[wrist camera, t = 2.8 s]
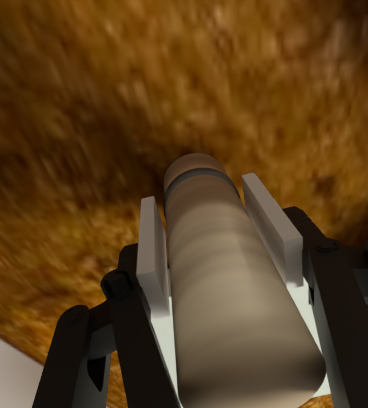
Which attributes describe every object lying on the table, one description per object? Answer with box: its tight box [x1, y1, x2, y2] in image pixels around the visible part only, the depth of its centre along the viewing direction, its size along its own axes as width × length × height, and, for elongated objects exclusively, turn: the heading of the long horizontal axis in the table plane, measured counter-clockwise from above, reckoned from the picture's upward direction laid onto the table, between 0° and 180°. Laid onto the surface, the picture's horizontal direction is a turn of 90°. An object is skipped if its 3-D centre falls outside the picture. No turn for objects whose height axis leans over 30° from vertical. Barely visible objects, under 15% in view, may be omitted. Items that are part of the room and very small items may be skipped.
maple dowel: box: [163, 153, 327, 408], centre depth 15 cm, size 5×5×14 cm
